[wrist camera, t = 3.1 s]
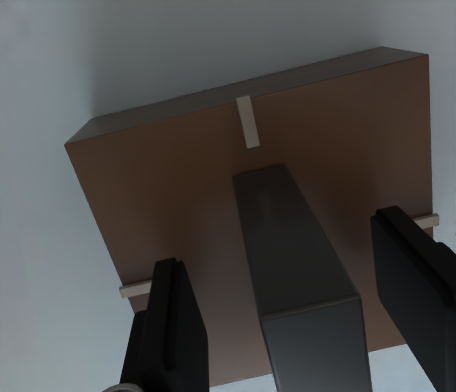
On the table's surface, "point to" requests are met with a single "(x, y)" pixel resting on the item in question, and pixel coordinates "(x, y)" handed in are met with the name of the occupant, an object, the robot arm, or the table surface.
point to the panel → (252, 161)
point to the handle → (300, 289)
